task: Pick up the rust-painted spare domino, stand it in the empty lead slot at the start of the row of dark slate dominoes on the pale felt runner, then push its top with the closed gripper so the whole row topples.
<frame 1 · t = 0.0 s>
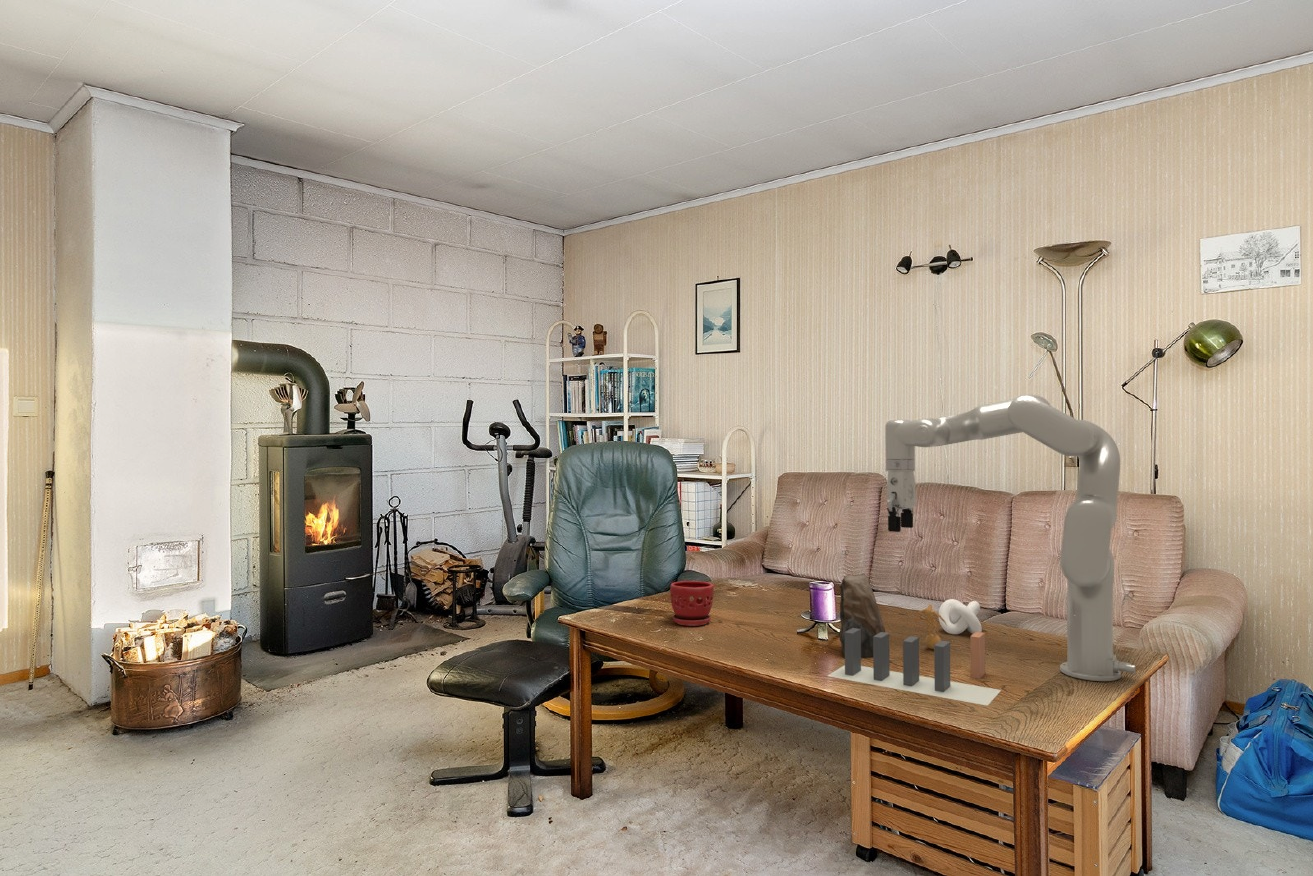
hand: (900, 529, 215), 31 cm above the table, fingers open, 9 cm apart
rust domino: (978, 677, 188), on the table
slate domino 3: (881, 677, 187), resting on felt mat
slate domino 1: (942, 688, 179), resting on felt mat
figurine: (931, 650, 211), on the table
slate domino 2: (911, 682, 183), resting on felt mat
slate domino 4: (853, 672, 191), resting on felt mat
white knot sculpture: (959, 633, 228), on the table
plant pot: (692, 623, 244), on the table
felt mat: (911, 684, 183), on the table
tall jagged boulder: (864, 655, 208), on the table
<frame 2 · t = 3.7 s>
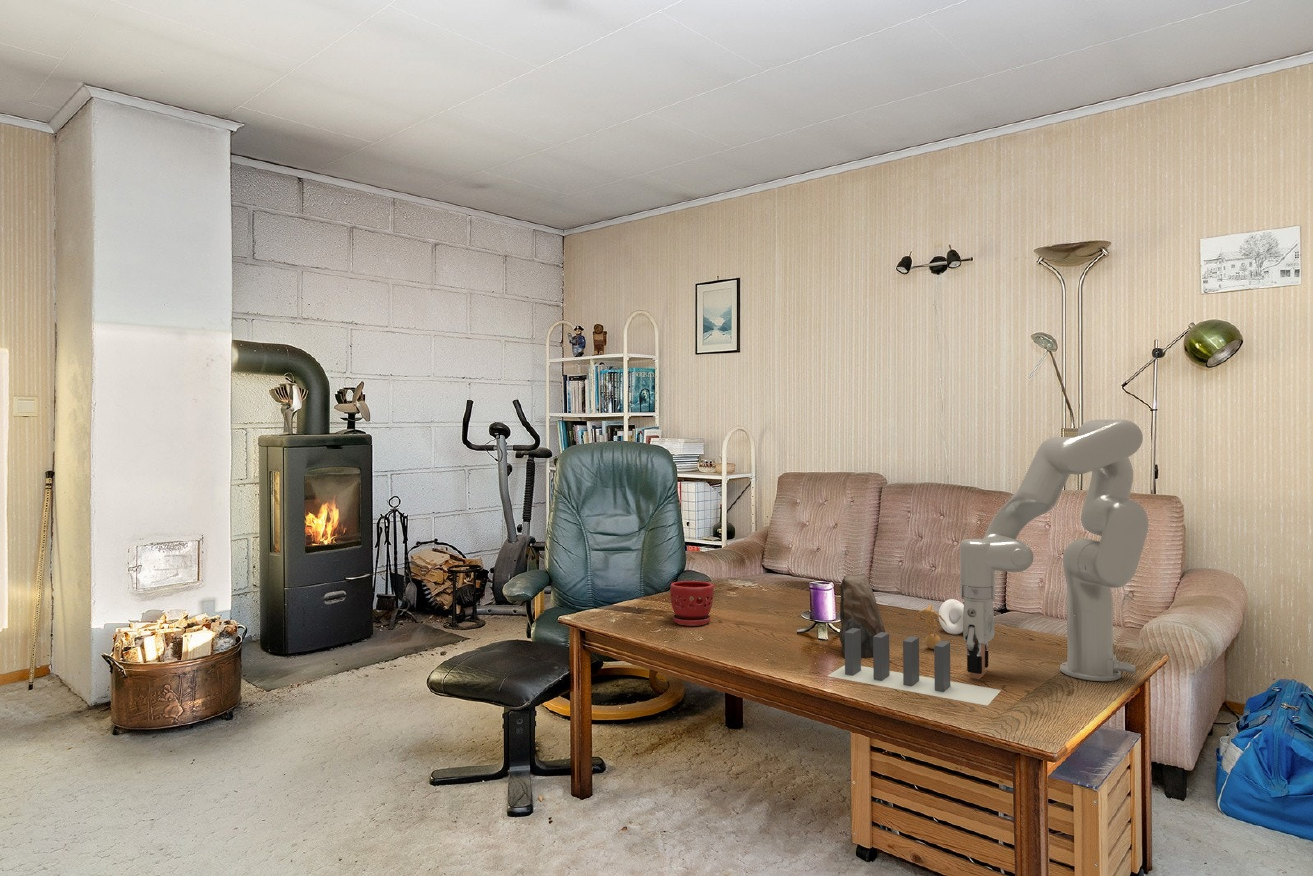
hand: (977, 668, 188), 2 cm above the table, fingers closed on rust domino, 4 cm apart
rust domino: (977, 677, 188), on the table, touching gripper
everything else where it was.
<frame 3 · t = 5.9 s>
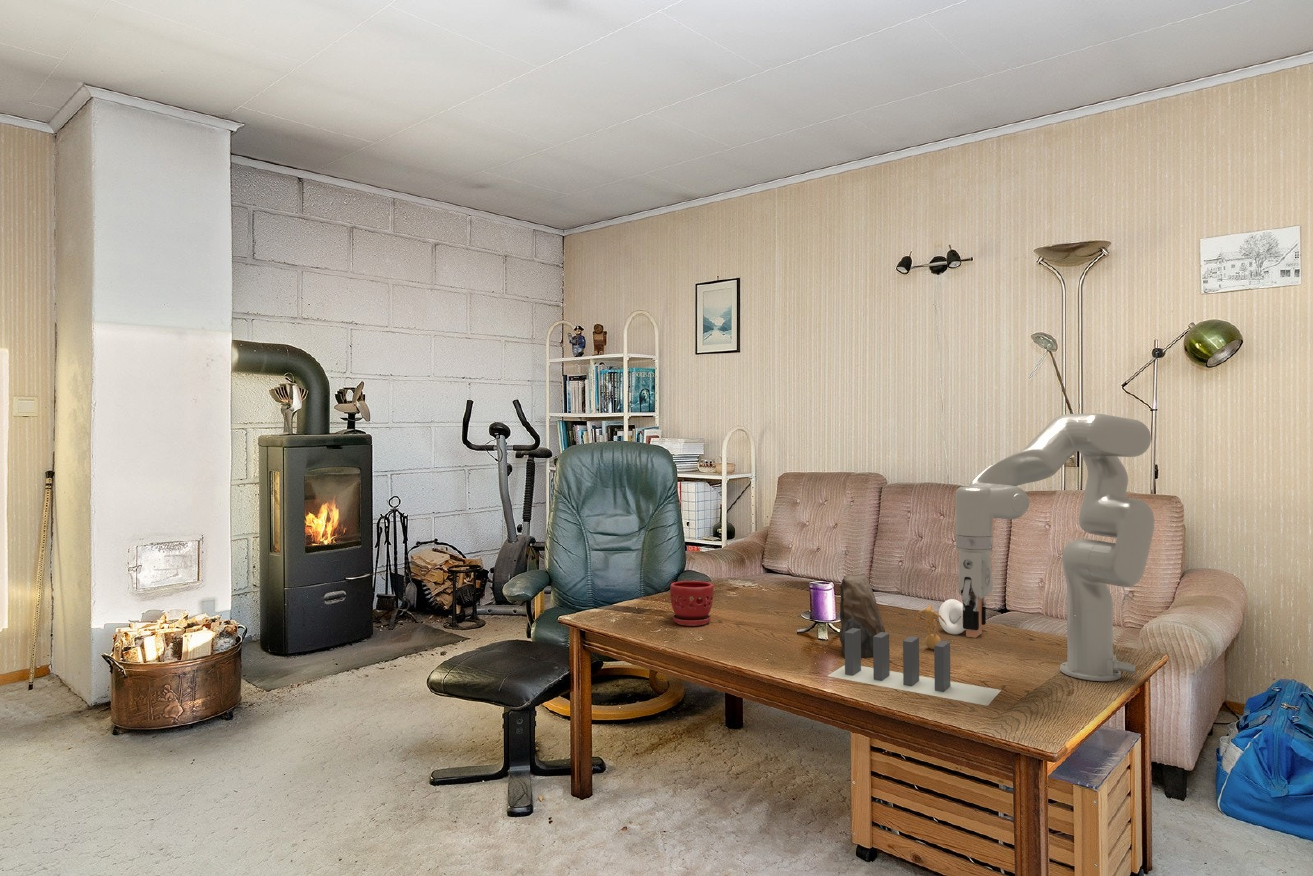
hand: (974, 625, 175), 15 cm above the table, fingers closed on rust domino, 4 cm apart
rust domino: (974, 634, 175), point 13 cm above the table, touching gripper
everything else where it was.
when the fingers open (3 cm above the table, at t = 8.5 s): rust domino stays where it is, resting on felt mat.
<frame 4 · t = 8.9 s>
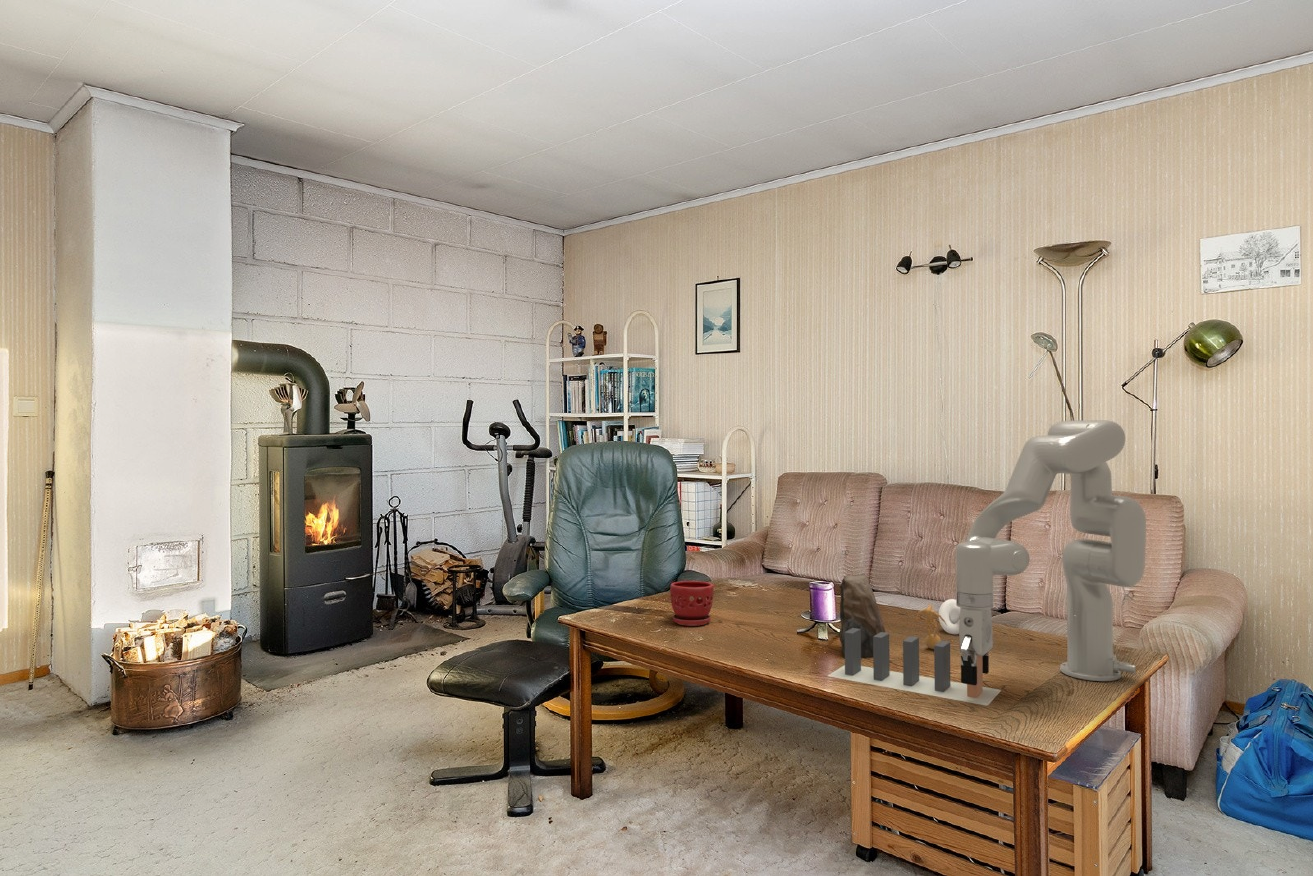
hand: (975, 678, 175), 4 cm above the table, fingers open, 9 cm apart
rust domino: (975, 694, 175), resting on felt mat
everything else where it was.
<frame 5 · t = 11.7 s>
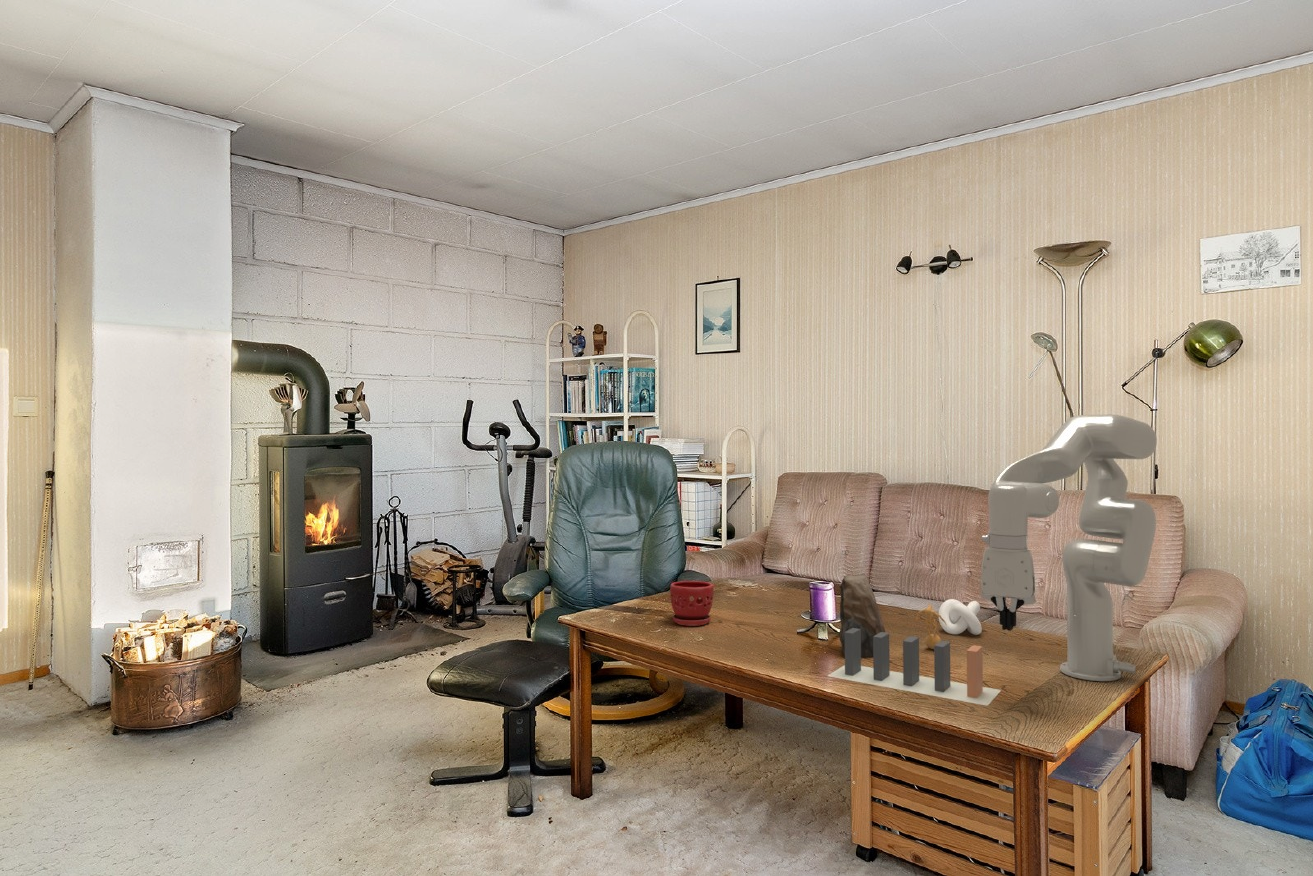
hand: (1007, 628, 170), 16 cm above the table, fingers closed
nothing on the table moved.
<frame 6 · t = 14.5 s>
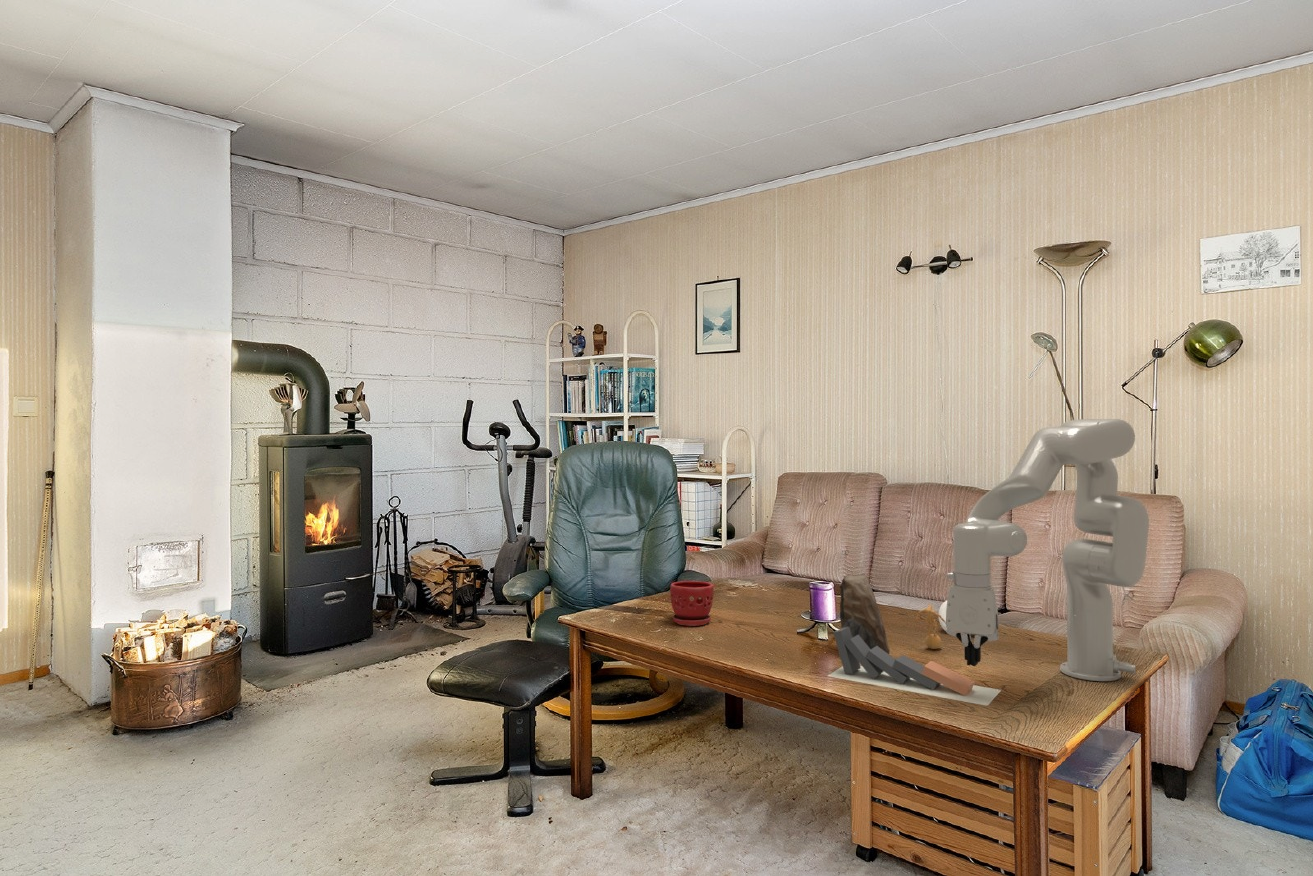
hand: (972, 664, 175), 7 cm above the table, fingers closed
rust domino: (970, 688, 176), point 1 cm above the table, tilted 72°, touching felt mat
slate domino 3: (879, 674, 188), point 1 cm above the table, tilted 44°, touching felt mat, slate domino 2, slate domino 4
slate domino 1: (938, 683, 180), point 1 cm above the table, tilted 69°, touching felt mat
slate domino 2: (908, 678, 184), point 1 cm above the table, tilted 61°, touching felt mat, slate domino 3
slate domino 4: (852, 671, 191), point 1 cm above the table, tilted 17°, touching felt mat, slate domino 3
everything else where it was.
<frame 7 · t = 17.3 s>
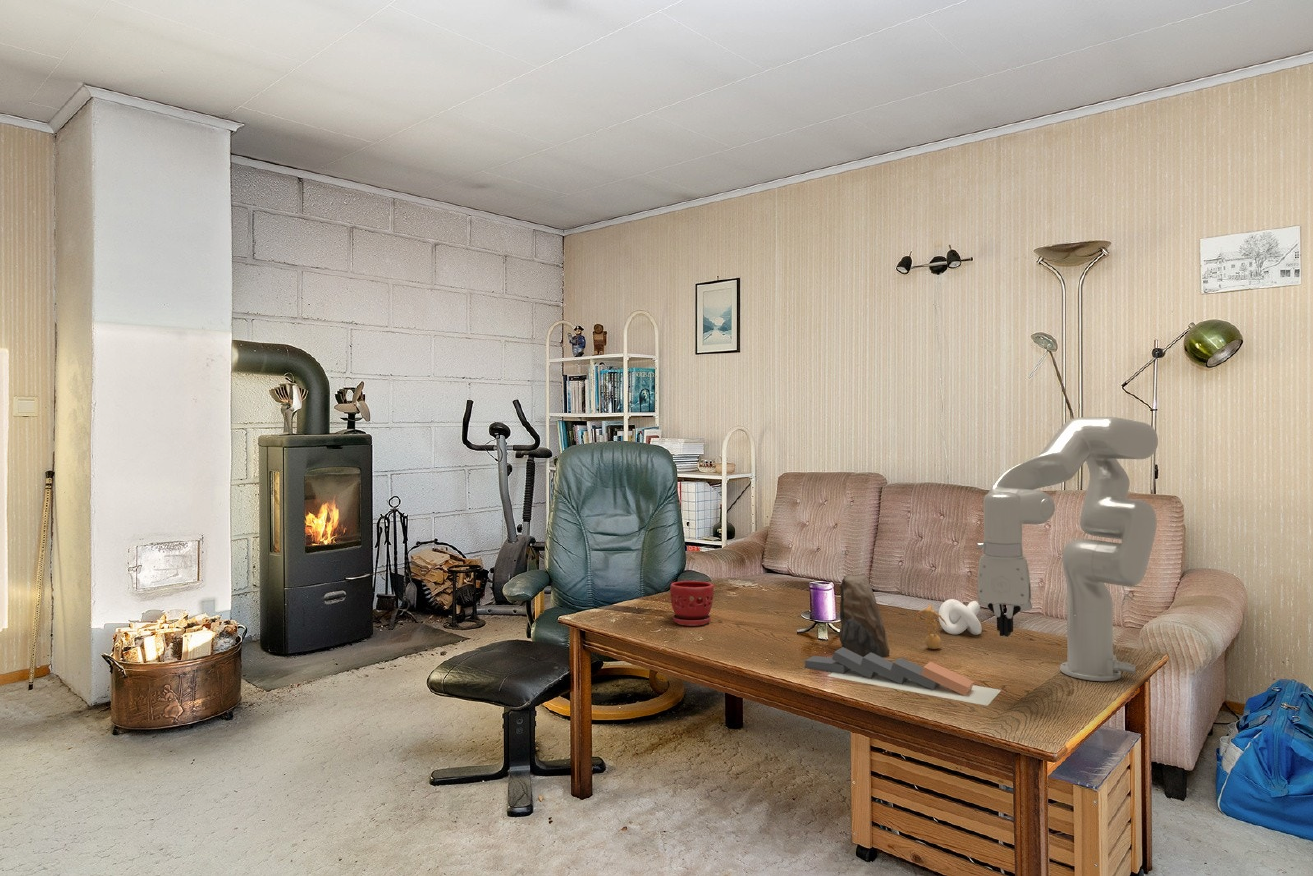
hand: (1005, 634, 173), 14 cm above the table, fingers closed
rust domino: (969, 688, 176), point 1 cm above the table, tilted 73°, touching felt mat, slate domino 1
slate domino 3: (875, 672, 188), point 1 cm above the table, tilted 72°, touching felt mat, slate domino 2, slate domino 4
slate domino 1: (938, 683, 180), point 1 cm above the table, tilted 74°, touching felt mat, rust domino, slate domino 2
slate domino 2: (906, 677, 184), point 1 cm above the table, tilted 73°, touching felt mat, slate domino 1, slate domino 3
slate domino 4: (847, 666, 192), point 2 cm above the table, tilted 93°, touching felt mat, slate domino 3
everything else where it was.
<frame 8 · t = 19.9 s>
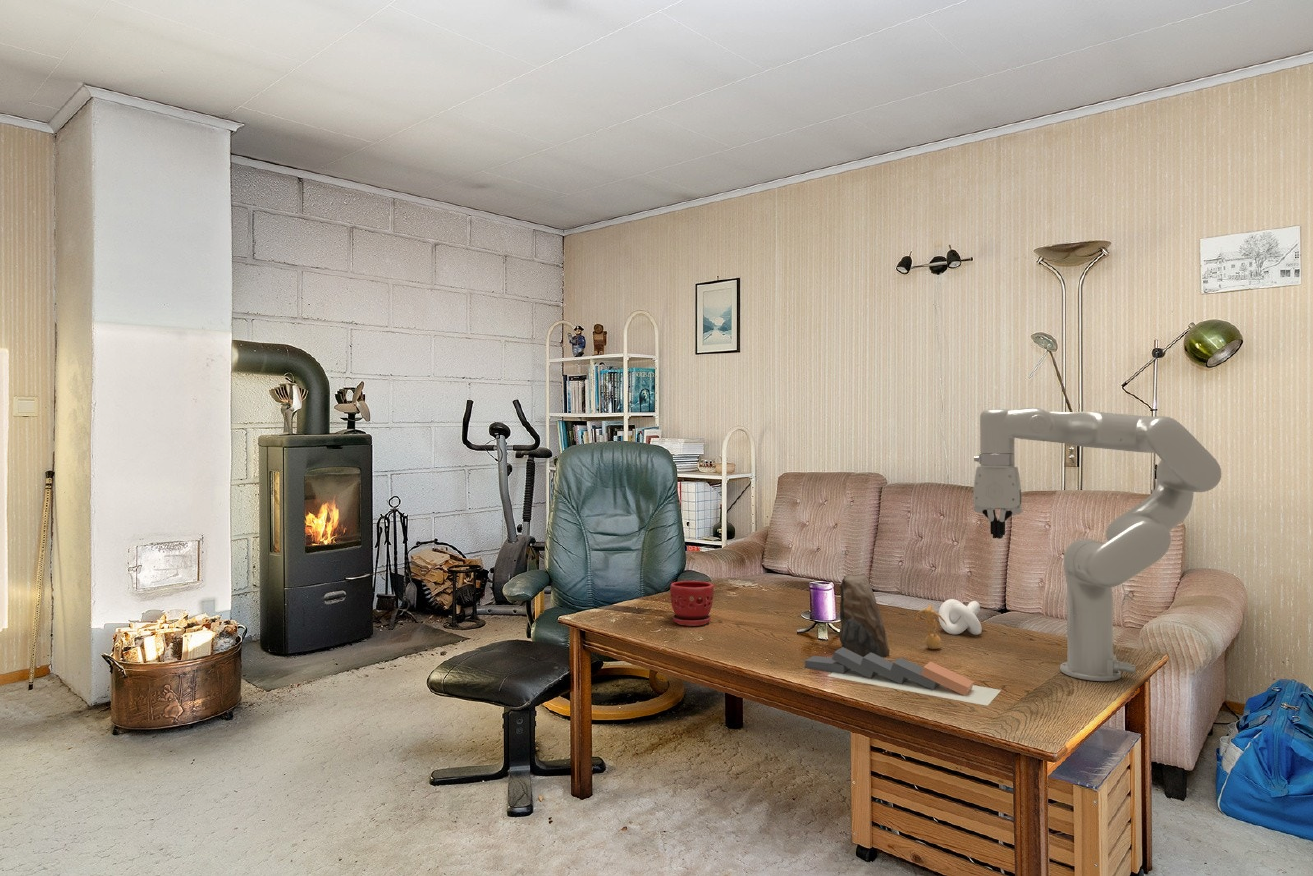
hand: (997, 537, 191), 32 cm above the table, fingers closed
nothing on the table moved.
at the end: slate domino 4 tilted 93°; rust domino inside the target area (0.8 cm from its centre), point 1.4 cm above the table; rust domino tilted 73° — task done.
